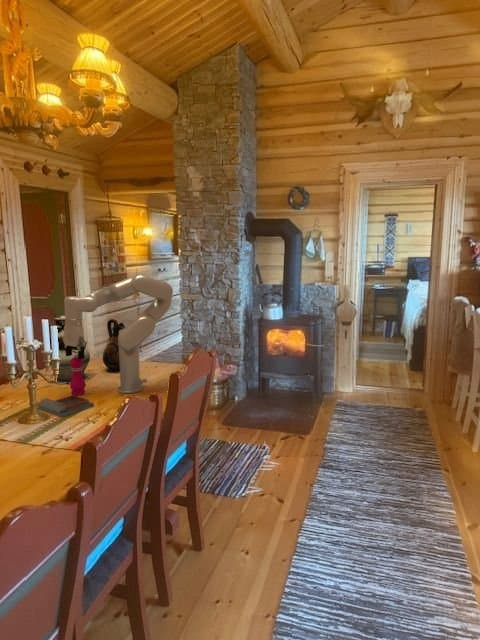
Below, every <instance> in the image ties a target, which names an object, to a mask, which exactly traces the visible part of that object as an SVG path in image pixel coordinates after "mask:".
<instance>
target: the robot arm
mask: <svg viewBox="0 0 480 640" xmlns="http://www.w3.org/2000/svg"><path fill="white" fill-rule="evenodd" d="M173 292H174V291H173V287H172V286H171V284H170V283H168V282H167V281H164V280H163V281H161V280H159V279H156V278H152V277H150V276H147V275H146V274H144V273H137V274H135V275H132V276H130V277H126V278H125V279H122V280H120V281H118V282H114V283H112V284H110V285H108V286H107V287H104V288H102V289H98V290H96V291H94V292H92V293H89V294H87V295H85V296H83V297H80V296H76V295H73V296H72V295H71V296H66V297H65V298H64V302H63V303H64V315H65V327H64V338H63V342H64V345H65V350H66V356H71V355H72V347H77V348H78V350H79V351H78V359H83V358H85V355H84V350H85V348H86V349H87V344H88V342H87V341H86V340H85V334H84V328H83V313H93V312H95V311H96V310H97V309H98V308H99V307H101V306H105V305H106V304H109V303H112V302H119V301H121V300H122V301H123V300H124V299H127V298H129V297H132V296H134V295H136V294H140V293H141V294H143V295H145V296H148V297H153V298H154V299H153V300H152V302H151V303H150V304H149V305H148V306H147V307H146V308H145V309H144V310H143V311H142V312H141V313H140V314H138V315H137V316H136V317H135V319H134V322H133V323H132V324H131V325H130V326H129V327H125V328H124V329H122V330H120V331H119V336H118V342H119V362H120V372H119V378H120V379H119V381H120V382H119V383H120V386H118V387H117V392H118V393H121V394H135V393H139V392H141V391H143V390H144V386H143V384H144V383H147V382H148V381H147V378H143V379H141V377H140V376H141V374H140V351H139V346H140V345H141V344H142V343H143V342H145V341H146V339H147V338H148V337H149V336H151V334H152V333H154V330H155V329H156V324H157V323H158V322H159V320H161V319H162V318H163V316H165V314H167V312H168V311H169V309H170V307H171V305H172V301H173ZM71 346H72V347H71ZM80 346H81V348H80Z"/></svg>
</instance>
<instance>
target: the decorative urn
mask: <svg viewBox="0 0 480 640" xmlns="http://www.w3.org/2000/svg"><path fill="white" fill-rule="evenodd" d="M53 321H55V323H54V324H53V326H57V329H58V342H59V356H60V358H61V359H62V360H61V362H60V365H59V374H57V376H58V377H57V382H56V384H60V385H61V384H62V385H65V384H70V383H71V380H72V377H73V371H72V369H71V368H72V366H71V365H70V360H71V359H72V358H74V355H75V354H77V355H78V351H79V350H78V348H77V347H72V346H71V347H72V355H71V356H66V350H65V345H64V342H63V338H64V327H65V314H64V315H63V314H62V315H60V316H59V317H54V318H53ZM80 348H81V346H80ZM84 355H85V358H83V359H82V360H83V365H82V377H83V379H84V380H87V379H91V378H92V376H91V375H88V374H87V375H86V374H85V371H86V370H87V367H88V365H89V363H90V361H91V360H90V358H91V353H90V352H89V350H88V349H87V347H86V348H85V350H84ZM48 380H49V381H50V382H52V381H53V377H50V378H48Z"/></svg>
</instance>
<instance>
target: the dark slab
mask: <svg viewBox="0 0 480 640" xmlns="http://www.w3.org/2000/svg"><path fill="white" fill-rule="evenodd" d="M89 400H90V399H88V398H85V397H82V396H75V395H72V394H71V395H68V396H65V397H62V398H58V399H50V398H47V397H45V398H42V399H40V404H39V405H37V409H38V408H39V409H38V410H40V411H44V412H46V413H49V414H51V415H54V416H56V417H57V416H58V417H59V418H60V417H61V418H64V417H68V416H71V415H74V414H76V413H80V412H82V411H85V410H88V409H90V408H94V407H95V403H93V402H90V401H89Z"/></svg>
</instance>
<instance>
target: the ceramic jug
mask: <svg viewBox="0 0 480 640" xmlns="http://www.w3.org/2000/svg"><path fill="white" fill-rule="evenodd" d="M112 324H113V326H112ZM106 327H107V332H108V336H109V338H108V342H107V344H106V345H105V347H104V349H103V352H102V363H103V364H104V366H105V367H106V368H107V371H108V372H110V373H120V362H119V342H118V336H119V333H120V331H121V330H122V329H124V328H126V326H125V324H124V323H123V322H120V323H118V321H117V320H116V319H114V318H111V319H108V321H107V325H106Z"/></svg>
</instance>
